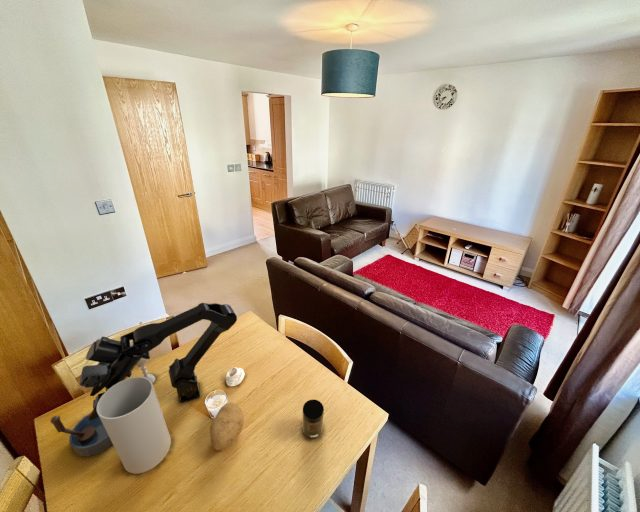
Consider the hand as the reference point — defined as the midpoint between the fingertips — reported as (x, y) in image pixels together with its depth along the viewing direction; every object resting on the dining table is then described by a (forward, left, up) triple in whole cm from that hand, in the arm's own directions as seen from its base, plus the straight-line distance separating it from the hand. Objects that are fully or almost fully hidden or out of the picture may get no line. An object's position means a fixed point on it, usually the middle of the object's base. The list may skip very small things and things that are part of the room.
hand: (90, 407), depth 82 cm
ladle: (+5, 0, -11) cm, 13 cm away
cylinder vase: (-14, +12, -13) cm, 22 cm away
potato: (-37, +16, -13) cm, 42 cm away
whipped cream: (-42, -5, -13) cm, 44 cm away
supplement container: (-63, +25, -13) cm, 69 cm away
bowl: (+1, 0, -12) cm, 12 cm away
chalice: (-11, -17, -13) cm, 24 cm away
